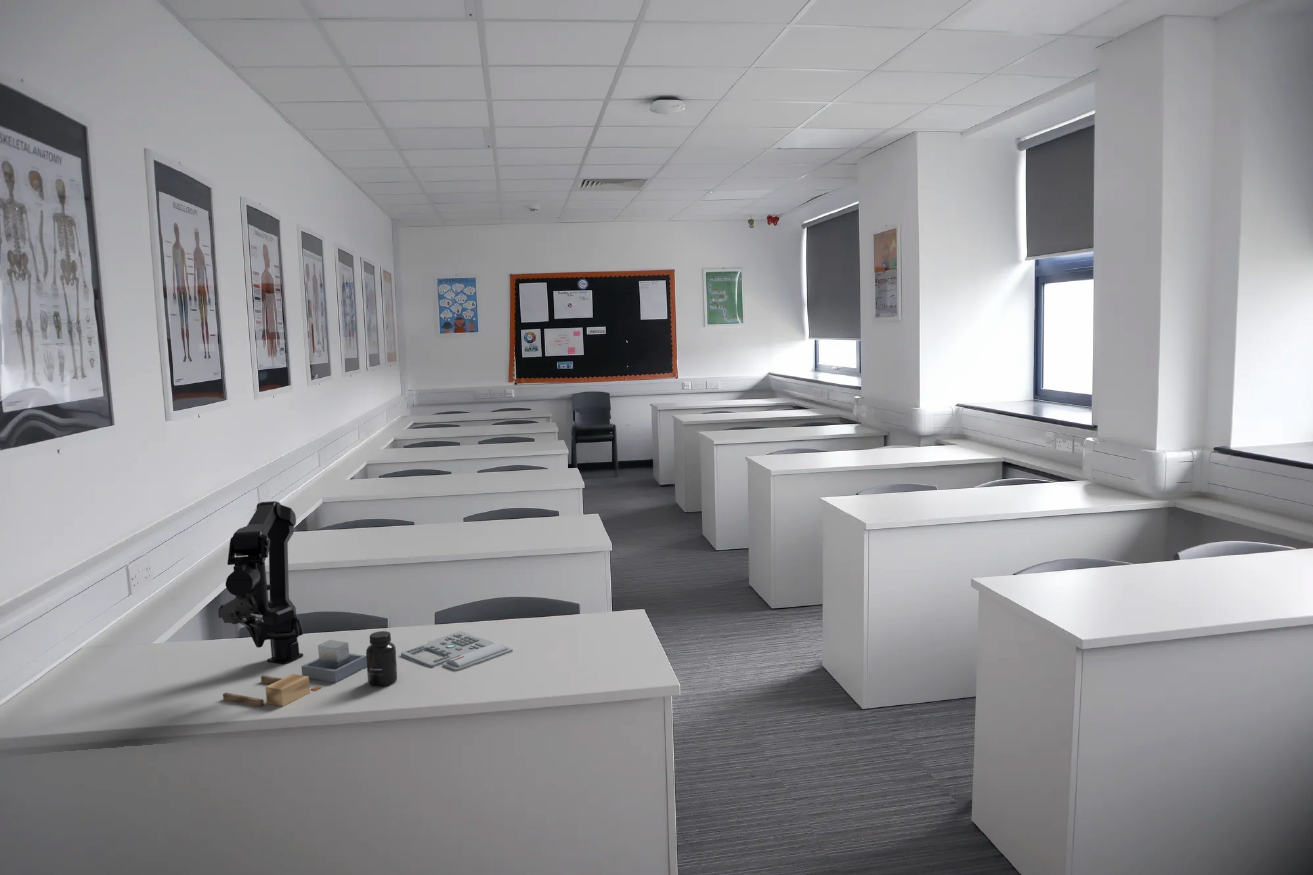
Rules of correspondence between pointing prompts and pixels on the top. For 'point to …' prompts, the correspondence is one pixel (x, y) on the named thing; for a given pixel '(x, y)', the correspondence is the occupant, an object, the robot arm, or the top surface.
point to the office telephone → (458, 651)
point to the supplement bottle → (381, 660)
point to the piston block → (287, 690)
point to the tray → (332, 675)
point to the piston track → (250, 699)
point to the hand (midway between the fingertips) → (259, 646)
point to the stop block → (333, 654)
